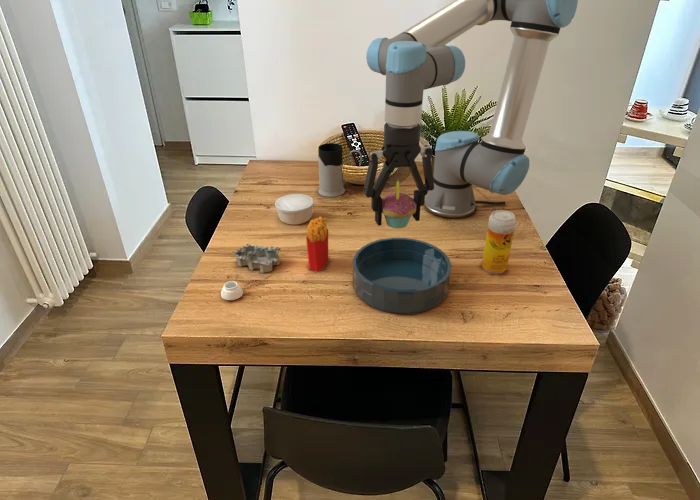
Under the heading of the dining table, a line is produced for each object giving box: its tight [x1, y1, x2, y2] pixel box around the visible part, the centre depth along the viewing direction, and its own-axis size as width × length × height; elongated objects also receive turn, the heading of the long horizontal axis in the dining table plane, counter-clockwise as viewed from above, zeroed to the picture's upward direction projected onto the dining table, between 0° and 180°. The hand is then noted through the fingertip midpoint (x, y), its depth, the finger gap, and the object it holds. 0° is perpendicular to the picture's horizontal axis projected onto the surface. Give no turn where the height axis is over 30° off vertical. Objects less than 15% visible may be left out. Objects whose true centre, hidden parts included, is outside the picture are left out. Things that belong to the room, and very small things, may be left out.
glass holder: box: [317, 142, 363, 198], centre depth 159 cm, size 9×14×15 cm, turn 94°
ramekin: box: [274, 193, 315, 226], centre depth 146 cm, size 11×11×5 cm
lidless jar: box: [220, 280, 244, 301], centre depth 115 cm, size 5×3×5 cm
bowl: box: [352, 237, 453, 315], centre depth 117 cm, size 23×23×6 cm
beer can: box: [481, 209, 517, 275], centre depth 120 cm, size 6×6×15 cm
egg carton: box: [232, 243, 282, 274], centre depth 126 cm, size 11×8×4 cm
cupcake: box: [382, 178, 417, 229], centre depth 111 cm, size 9×8×12 cm
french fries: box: [305, 216, 329, 272], centre depth 123 cm, size 8×4×12 cm, turn 161°
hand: (397, 220), depth 114 cm, fingers closed on cupcake, 8 cm apart
